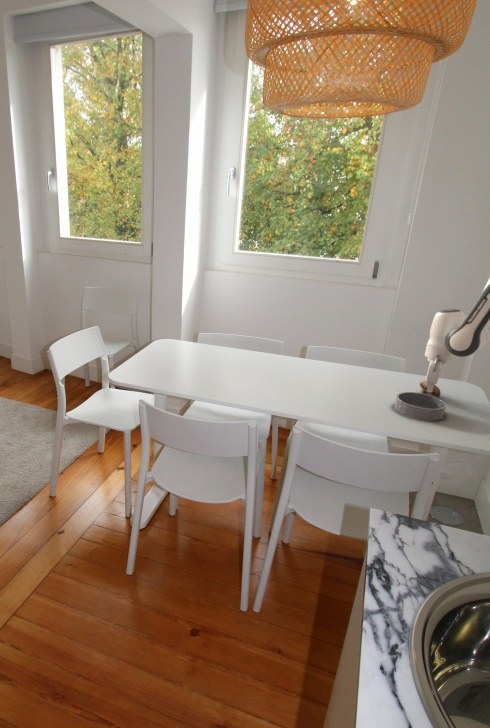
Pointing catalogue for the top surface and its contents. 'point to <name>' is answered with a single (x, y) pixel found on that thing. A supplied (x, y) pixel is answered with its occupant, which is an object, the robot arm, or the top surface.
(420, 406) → the pan
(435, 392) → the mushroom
